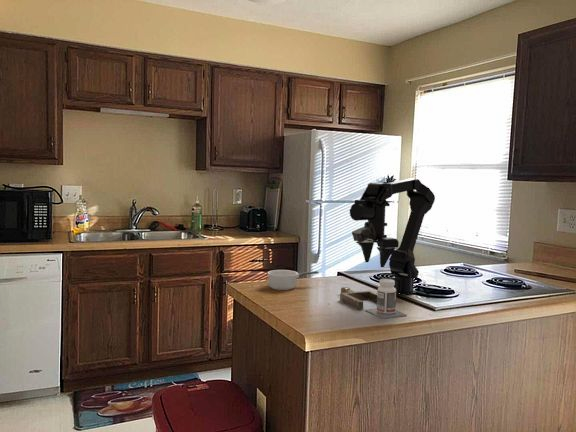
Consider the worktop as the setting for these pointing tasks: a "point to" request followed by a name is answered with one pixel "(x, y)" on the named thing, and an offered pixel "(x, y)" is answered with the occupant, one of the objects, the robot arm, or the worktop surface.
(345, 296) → the ball knob bracket
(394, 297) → the pill bottle
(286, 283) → the saucepan
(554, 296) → the worktop surface
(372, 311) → the coaster
